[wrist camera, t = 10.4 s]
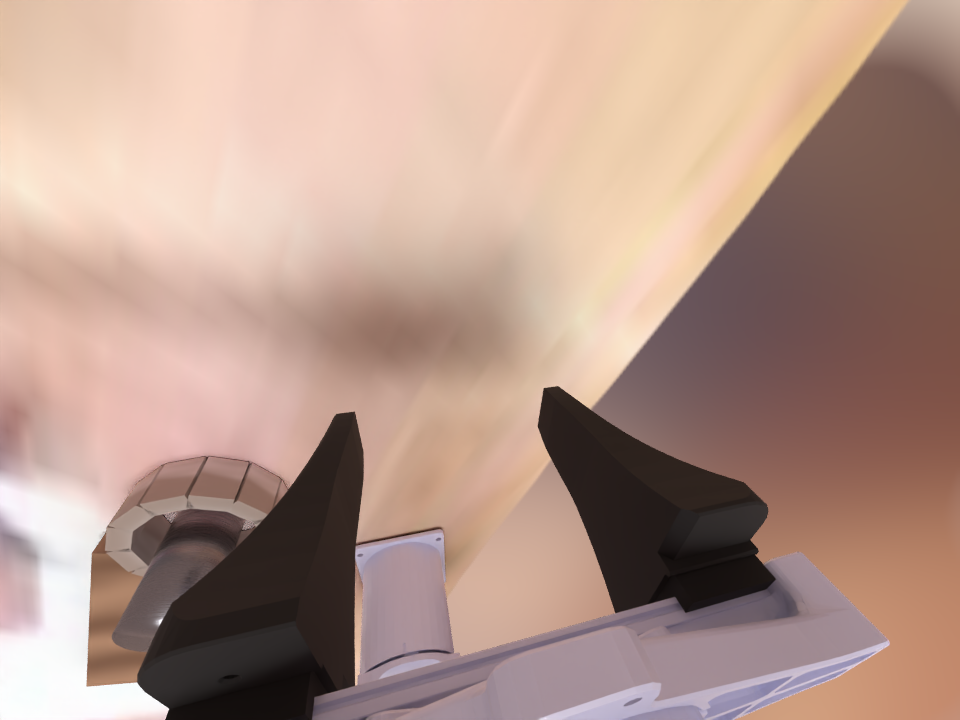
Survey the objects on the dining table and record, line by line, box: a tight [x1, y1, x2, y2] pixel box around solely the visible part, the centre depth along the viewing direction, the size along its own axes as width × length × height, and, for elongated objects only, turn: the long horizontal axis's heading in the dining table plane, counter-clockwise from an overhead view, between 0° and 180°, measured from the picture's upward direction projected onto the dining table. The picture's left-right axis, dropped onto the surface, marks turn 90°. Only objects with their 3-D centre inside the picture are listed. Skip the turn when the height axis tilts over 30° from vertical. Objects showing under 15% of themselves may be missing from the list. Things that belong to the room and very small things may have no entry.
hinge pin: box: [112, 509, 245, 652], centre depth 22 cm, size 4×4×8 cm
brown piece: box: [87, 456, 288, 686], centre depth 28 cm, size 29×12×3 cm, turn 152°
